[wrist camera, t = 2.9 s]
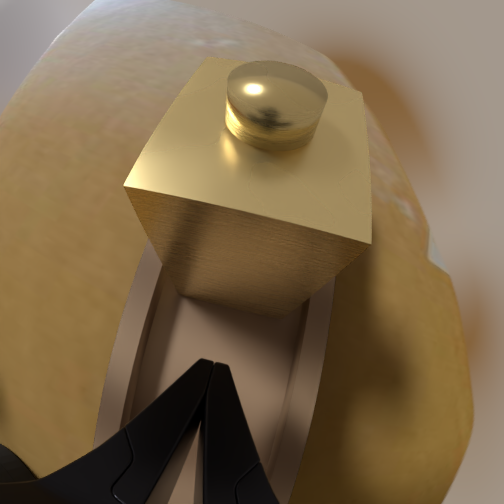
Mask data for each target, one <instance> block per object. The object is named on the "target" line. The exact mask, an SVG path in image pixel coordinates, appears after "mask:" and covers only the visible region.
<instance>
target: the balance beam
mask: <svg viewBox="0 0 504 504" xmlns="http://www.w3.org/2000/svg"><path fill="white" fill-rule="evenodd" d="M335 278H336V276H335V277H334V278H332V279H331V280H330V281H329V282H328V283H326V284H325V285H324V286H323V287H322V288H320V289H319V290H318V291H317V292H315V293H314V294H313V295H312V296H311V297H309V298H308V299H307V300H306V301H304V302H303V303H302V304H301V305H299V306H298V307H297V308H296V309H294V310H293V311H292V312H291V313H289V314H288V315H287V316H285V317H284V318H283V319H277V318H273V317H268V316H264V315H259V314H255V313H250V312H246V311H242V310H237V309H233V308H229V307H225V306H221V305H217V304H213V303H209V302H205V301H201V300H197V299H194V298H190V297H186V296H182V295H179V294H178V292H177V290H176V288H175V287H174V285H173V283H172V281H171V279H170V278H169V276H168V274H167V272H166V270H165V268H164V267H163V265H162V263H161V261H160V259H159V257H158V255H157V253H156V252H155V250H154V248H153V246H152V244H151V242H150V240H149V238H148V241H147V244H146V246H145V249H144V252H143V254H142V257H141V260H140V263H139V266H138V268H137V271H136V274H135V277H134V280H133V283H132V286H131V289H130V292H129V295H128V298H127V301H126V305H125V308H124V311H123V314H122V318H121V321H120V325H119V328H118V332H117V335H116V339H115V343H114V346H113V350H112V354H111V358H110V362H109V366H108V371H107V375H106V379H105V384H104V388H103V393H102V398H101V403H100V408H99V414H98V419H97V425H96V431H95V438H94V445H93V450H94V449H95V448H97V447H98V446H100V445H101V444H102V443H104V442H105V441H106V440H108V439H109V438H110V437H111V436H113V435H114V434H115V433H116V432H118V431H119V430H120V429H121V428H122V427H124V428H125V425H126V424H127V423H128V422H129V421H131V420H132V419H133V418H134V417H135V416H136V415H138V414H139V413H140V412H141V411H142V410H143V409H144V408H146V407H147V406H148V405H149V404H150V403H151V402H152V401H154V400H155V399H156V398H157V397H158V396H159V395H160V394H161V393H162V392H164V391H165V390H166V389H167V388H168V387H169V386H170V385H171V384H172V383H174V382H175V381H176V380H177V379H178V378H179V377H180V376H181V375H182V374H183V373H184V372H186V371H187V370H188V369H189V368H190V367H191V366H192V365H193V364H194V363H195V362H196V361H197V360H199V359H200V358H204V359H208V360H212V361H213V362H214V363H215V362H220V363H224V364H228V365H229V367H230V370H231V373H232V376H233V380H234V383H235V386H236V389H237V392H238V395H239V399H240V402H241V405H242V408H243V411H244V414H245V417H246V420H247V423H248V426H249V429H250V432H251V435H252V437H253V440H254V443H255V446H256V449H257V452H258V454H259V457H260V460H261V461H260V462H261V463H262V465H263V468H264V470H265V473H266V475H267V478H268V480H269V482H270V485H271V487H272V489H273V491H274V493H275V495H276V497H277V499H278V501H279V503H280V504H288V503H289V500H290V497H291V493H292V490H293V487H294V484H295V481H296V477H297V474H298V470H299V467H300V463H301V460H302V456H303V453H304V449H305V445H306V441H307V437H308V433H309V429H310V425H311V421H312V416H313V412H314V407H315V403H316V398H317V393H318V388H319V383H320V378H321V373H322V368H323V362H324V357H325V351H326V345H327V338H328V332H329V325H330V318H331V311H332V304H333V296H334V287H335ZM200 423H201V422H200ZM199 428H200V425H199ZM198 436H199V429H198V431H197V434H196V437H195V439H194V441H193V444H192V446H191V449H190V451H189V454H188V456H187V459H186V461H185V464H184V466H183V468H182V471H181V473H180V476H179V478H178V480H177V483H176V485H175V488H174V490H173V492H172V495H171V497H170V500H169V502H168V504H193V502H194V486H195V472H196V459H197V447H198Z"/></svg>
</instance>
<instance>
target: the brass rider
mask: <svg viewBox="0 0 504 504" xmlns="http://www.w3.org/2000/svg"><path fill="white" fill-rule="evenodd" d="M123 186H124V188H125V190H126V192H127V195H128V197H129V199H130V201H131V203H132V205H133V207H134V210H135V212H136V214H137V216H138V218H139V220H140V222H141V224H142V226H143V228H144V230H145V232H146V234H147V236H148V238H149V240H150V242H151V244H152V246H153V248H154V250H155V252H156V253H157V255H158V257H159V259H160V261H161V263H162V265H163V267H164V268H165V270H166V272H167V274H168V276H169V278H170V279H171V281H172V283H173V285H174V287H175V288H176V290H177V292H178V294H179V295H182V296H186V297H190V298H194V299H197V300H201V301H205V302H209V303H213V304H217V305H221V306H225V307H229V308H233V309H237V310H242V311H246V312H250V313H255V314H259V315H264V316H268V317H273V318H277V319H283V318H284V317H285V316H287V315H288V314H289V313H291V312H292V311H293V310H294V309H296V308H297V307H298V306H299V305H301V304H302V303H303V302H304V301H306V300H307V299H308V298H309V297H311V296H312V295H313V294H314V293H315V292H317V291H318V290H319V289H320V288H322V287H323V286H324V285H325V284H326V283H328V282H329V281H330V280H331V279H332V278H334V277H335V276H336V275H337V274H338V273H339V272H341V271H342V270H343V269H344V268H345V267H346V266H348V265H349V264H350V263H351V262H352V261H353V260H354V259H356V258H357V257H358V256H359V255H360V254H361V253H362V252H363V251H365V250H366V249H367V248H368V247H369V246H370V245H371V242H372V207H371V178H370V161H369V148H368V137H367V128H366V119H365V111H364V104H363V97H362V93H361V92H359V91H356V90H353V89H351V88H348V87H345V86H342V85H339V84H336V83H332V82H329V81H326V80H323V79H319V78H316V77H315V76H314V75H312V74H311V73H309V72H307V71H306V70H304V69H302V68H299V67H297V66H294V65H291V64H287V63H282V62H276V61H254V62H243V61H237V60H230V59H222V58H214V57H207V58H206V59H205V60H204V62H203V63H202V64H201V65H200V67H199V68H198V69H197V70H196V72H195V73H194V74H193V76H192V77H191V78H190V80H189V81H188V82H187V84H186V85H185V86H184V88H183V89H182V91H181V92H180V93H179V95H178V96H177V98H176V99H175V101H174V102H173V103H172V105H171V106H170V108H169V109H168V111H167V112H166V114H165V115H164V117H163V118H162V120H161V121H160V123H159V125H158V126H157V128H156V129H155V131H154V133H153V134H152V136H151V137H150V139H149V141H148V142H147V144H146V146H145V147H144V149H143V151H142V152H141V154H140V156H139V158H138V159H137V161H136V163H135V165H134V167H133V168H132V170H131V172H130V174H129V176H128V178H127V180H126V182H125V183H124V185H123Z"/></svg>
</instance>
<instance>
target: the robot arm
mask: <svg viewBox="0 0 504 504" xmlns="http://www.w3.org/2000/svg"><path fill="white" fill-rule="evenodd" d="M200 422H201V423H200ZM199 425H200V428H199ZM198 429H199V436H198V447H197V459H196V472H195V486H194V502H193V504H280V503H279V501H278V499H277V497H276V495H275V493H274V491H273V489H272V487H271V485H270V482H269V480H268V478H267V475H266V473H265V470H264V468H263V465H262V463H261V462H260V461H261V460H260V457H259V454H258V452H257V449H256V446H255V443H254V440H253V437H252V435H251V432H250V429H249V426H248V423H247V420H246V417H245V414H244V411H243V408H242V405H241V402H240V399H239V395H238V392H237V389H236V386H235V383H234V380H233V376H232V373H231V370H230V367H229V365H228V364H224V363H220V362H215V363H214V362H213V361H212V360H208V359H204V358H200V359H199V360H197V361H196V362H195V363H194V364H193V365H192V366H191V367H190V368H189V369H188V370H187V371H186V372H184V373H183V374H182V375H181V376H180V377H179V378H178V379H177V380H176V381H175V382H174V383H172V384H171V385H170V386H169V387H168V388H167V389H166V390H165V391H164V392H162V393H161V394H160V395H159V396H158V397H157V398H156V399H155V400H154V401H152V402H151V403H150V404H149V405H148V406H147V407H146V408H144V409H143V410H142V411H141V412H140V413H139V414H138V415H136V416H135V417H134V418H133V419H132V420H131V421H129V422H128V423H127V424H126V425H125V428H124V427H122V428H121V429H120V430H119V431H118V432H116V433H115V434H114V435H113V436H111V437H110V438H109V439H108V440H106V441H105V442H104V443H102V444H101V445H100V446H98V447H97V448H95V449H94V450H92V451H90V452H89V453H87V454H86V455H84V456H82V457H81V458H79V459H77V460H75V461H74V462H72V463H70V464H68V465H66V466H65V467H63V468H61V469H59V470H57V471H55V472H53V473H52V474H50V475H47V476H45V477H43V478H40V479H37V480H33V481H27V482H14V483H0V504H168V502H169V500H170V497H171V495H172V492H173V490H174V488H175V485H176V483H177V480H178V478H179V476H180V473H181V471H182V468H183V466H184V464H185V461H186V459H187V456H188V454H189V451H190V449H191V446H192V444H193V441H194V439H195V437H196V434H197V431H198Z"/></svg>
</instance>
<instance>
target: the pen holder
mask: <svg viewBox="0 0 504 504" xmlns="http://www.w3.org/2000/svg"><path fill="white" fill-rule="evenodd" d="M33 480H36V479H35V478H34V476H33V475H32V474H31V472H30V471H29V470H28V469H27V467H26V466H25V465H24V464H23V463H22V462H21V460H20V459H19V458H18V457H17V456H16V455H14V454H13V453H12V452H11V451H10V450H9V449H7V448H6V447H4V446H3V445H2V444H0V483H14V482H27V481H33Z"/></svg>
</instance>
